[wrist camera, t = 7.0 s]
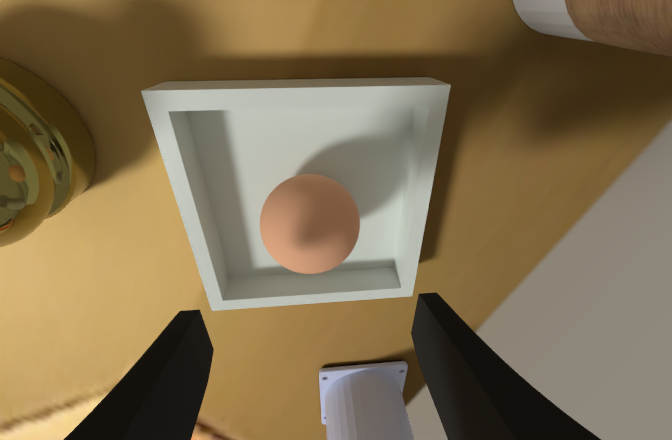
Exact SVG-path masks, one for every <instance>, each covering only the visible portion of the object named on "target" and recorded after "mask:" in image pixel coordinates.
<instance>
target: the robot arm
mask: <svg viewBox="0 0 672 440" xmlns="http://www.w3.org/2000/svg"><path fill="white" fill-rule="evenodd" d="M411 335H412V339H413V343H414V347H415V351H416V354H417V358H418V362H419V365H420V367H421V370H422V373H423V375H424V378H425V381H426V383H427V386H428V389H429V391H430V394H431V396H432V399H433V401H434V404H435V407H436V409H437V412H438V414H439V417H440V419H441V422H442V425H443V427H444V430H445V432H446V435H447V438H448V440H601V439H599V438H598V437H597V436H595V435H594V434H593V433H591V432H590V431H588V430H587V429H586V428H584V427H583V426H581V425H580V424H579V423H577V422H576V421H575V420H573V419H572V418H571V417H570V416H568V415H567V414H566V413H564V412H563V411H562V410H561V409H559V408H558V407H557V406H556V405H554V404H553V403H552V402H551V401H549V400H548V399H547V398H546V397H544V396H543V395H542V394H541V393H540V392H538V391H537V390H536V389H535V388H533V387H532V386H531V385H530V384H529V383H528V382H527V381H526V380H524V379H523V378H522V377H521V376H520V375H519V374H518V373H516V372H515V371H514V370H513V369H512V368H511V367H510V366H509V365H508V364H506V363H505V362H504V361H503V360H502V359H501V358H500V357H499V356H498V355H497V354H496V353H495V352H494V351H493V350H492V349H491V348H490V347H489V346H488V345H486V343H485V342H484V341H483V340H482V339H481V338H480V337H479V336H478V335H477V334H476V333H475V332H474V331H473V330H472V329H471V328H470V327H469V326H468V325H467V324H466V323H465V322H464V321H463V320H462V319H461V318H460V317H459V316H458V315H457V314H456V313H455V312H454V310H453V309H452V308H451V307H450V306H449V305H448V304H447V303H446V302H445V301H444V300H443V299H442V298H441V297H440V296H439V295H438V294H437V293H424V294H419V296H418V301H417V306H416V311H415V316H414V321H413V326H412V332H411ZM213 350H214V349H213V346H212V344H211V341H210V338H209V335H208V332H207V329H206V326H205V324H204V321H203V318H202V315H201V312H200V310H188V311H180V312H179V313H178V314H177V315H176V316H175V317H174V318H173V320H172V321H171V322H170V323H169V324H168V326H167V327H166V328H165V329H164V330H163V332H162V333H161V334H160V335H159V336H158V338H157V339H156V340H155V341H154V342H153V344H152V345H151V346H150V347H149V348H148V349H147V351H146V352H145V353H144V354H143V355H142V357H141V358H140V359H139V360H138V361H137V362H136V363H135V365H134V366H133V367H132V368H131V369H130V370H129V371H128V373H127V374H126V375H125V376H124V377H123V378H122V379H121V380H120V382H119V383H118V384H117V385H116V386H115V387H114V388H113V389H112V390H111V391H110V392H109V393H108V395H107V396H106V397H105V398H104V399H103V400H102V401H101V402H100V403H99V404H98V405H97V406H96V407H95V408H94V409H93V411H92V412H91V413H90V414H89V415H88V416H87V417H86V418H85V419H84V420H83V421H82V422H81V423H80V424H79V425H78V426H77V427H76V428H75V429H74V430H73V431H72V432H71V433H70V434H69V435H68V436H67V437H66V438H65V439H64V440H191V437H192V433H193V430H194V427H195V424H196V420H197V417H198V414H199V410H200V407H201V404H202V400H203V397H204V394H205V390H206V387H207V383H208V378H209V373H210V368H211V362H212V356H213ZM407 369H408V365H407V363H406V362H405V361H397V362H386V363H375V364H363V365H352V366H341V367H330V368H322V369H321V370H320V371H319V382H320V399H321V416H322V423H323V424H325V425H326V428H327V440H414V437H413V433H412V430H411V426H410V422H409V418H408V415H407V411H406V407H405V404H404V400H403V396H402V392H403V388H404V383H405V378H406V373H407Z"/></svg>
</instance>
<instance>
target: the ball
mask: <svg viewBox="0 0 672 440" xmlns="http://www.w3.org/2000/svg"><path fill="white" fill-rule="evenodd" d="M359 231H360V217H359V212H358V209H357V205H356V203H355V201H354V199H353V198H352V196H351V195H350V193H349V192H348V191H347V190H346V189H345V188H344V187H343V186H342V185H341V184H339V183H338V182H336V181H335V180H333V179H331V178H328V177H325V176H322V175H317V174H302V175H298V176H294V177H291V178H289V179H287V180H285V181H284V182H282V183H280V184H279V185H278V186H277V187H276V188H275V189H274V190H273V191H272V192H271V193H270V194H269V196H268V197H267V199H266V201H265V203H264V205H263V208H262V211H261V215H260V233H261V237H262V240H263V243H264V245H265V247H266V249H267V251H268V252H269V254H270V255H271V256H272V257H273V258H274V259H275V260H276V261H277V262H278V263H279V264H280V265H282V266H283V267H285V268H287V269H289V270H291V271H294V272H297V273H303V274H316V273H322V272H325V271H328V270H330V269H333V268H334V267H336V266H338V265H339V264H341V263H342V262H343V261H344V260H345V259H346V258H347V257H348V256H349V255H350V253H351V252H352V250H353V249H354V247H355V245H356V242H357V240H358V236H359Z"/></svg>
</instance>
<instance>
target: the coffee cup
mask: <svg viewBox="0 0 672 440" xmlns="http://www.w3.org/2000/svg"><path fill="white" fill-rule="evenodd" d="M513 3H514V6H515V9H516V11H517V13H518V14H519V16H520V18H521V19H522V21H523V22H524V23H526V24H527V25H528V26H529V27H530V28H531V29H533V30H536V31H538V32H540V33H543V34H548V35H554V36H560V37H567V38H573V39H580V40H587V41H594V42H597V43H600V44H605V45H610V46H615V47H621V48H626V49H631V50H636V51H642V52H647V53H652V54H657V55H663V56H668V57H672V0H513Z"/></svg>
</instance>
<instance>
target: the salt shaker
mask: <svg viewBox="0 0 672 440" xmlns="http://www.w3.org/2000/svg"><path fill="white" fill-rule="evenodd" d="M95 168H96V155H95V149H94V145H93V142H92V139H91V136H90V134H89V132H88V130H87V128H86V126H85V124H84V123H83V121H82V120H81V118H80V117H79V115H78V114H77V113H76V111H75V110H74V109H73V108H72V106H71V105H70V104H69V103H68V102H67V101H66V100H65V99H64V98H63V97H62V96H61V95H60V94H59V93H58V92H57V91H56V90H55V89H53V88H52V87H51V86H50V85H48V84H47V83H46V82H44V81H43V80H42V79H40V78H39V77H37V76H36V75H34V74H33V73H31V72H29V71H27V70H26V69H24V68H22V67H20V66H18V65H16V64H14V63H11V62H9V61H7V60H4V59H1V58H0V247H3V246H7V245H10V244H12V243H15V242H17V241H19V240H21V239H23V238H25V237H26V236H28V235H29V234H31V233H32V232H33V231H34V230H35V229H36V228H37V227H38V226H39V225H40V224H41V223H42V222H43V221H44V219H47V218H49V217H52V216H54V215H56V214H57V213H59V212H60V211H61V210H62V209H64V208H65V207H66V205H67V204H68V203H69V202H70V201H72V200H73V199H74V198H76V197H77V196H79V195H80V194H81V193H82V192H84V191H85V190H86V188H87V187H88V186H89V184H90V183H91V181H92V179H93V176H94V173H95Z"/></svg>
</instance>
